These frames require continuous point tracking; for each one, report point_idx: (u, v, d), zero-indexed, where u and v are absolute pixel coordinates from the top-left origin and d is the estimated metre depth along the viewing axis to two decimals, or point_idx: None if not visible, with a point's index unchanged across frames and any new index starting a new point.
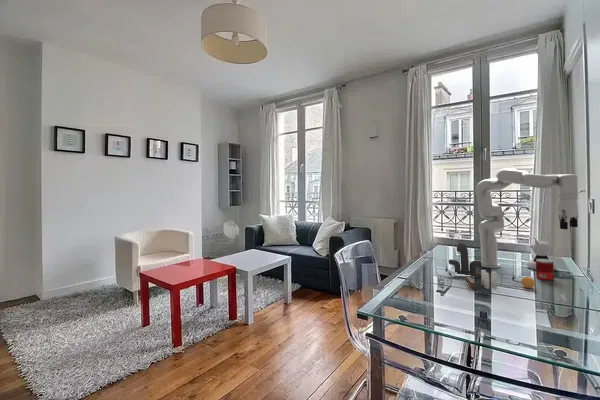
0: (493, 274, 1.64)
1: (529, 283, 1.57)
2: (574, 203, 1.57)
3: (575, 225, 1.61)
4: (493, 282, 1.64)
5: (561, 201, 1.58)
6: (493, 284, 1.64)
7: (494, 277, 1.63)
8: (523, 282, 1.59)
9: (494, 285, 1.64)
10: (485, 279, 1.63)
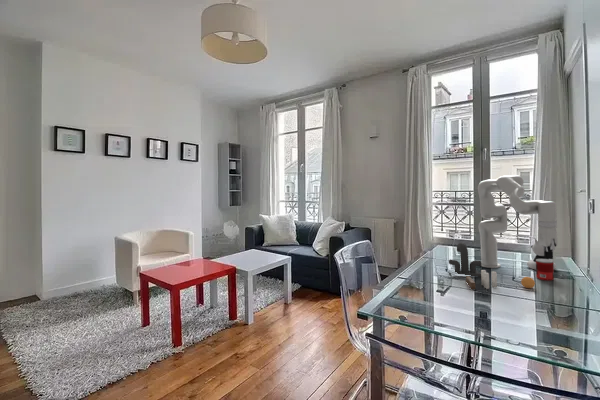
0: (493, 274, 1.64)
1: (529, 283, 1.57)
2: None
3: None
4: (493, 282, 1.64)
5: (550, 230, 1.52)
6: (493, 284, 1.64)
7: (494, 277, 1.63)
8: (523, 282, 1.59)
9: (494, 285, 1.64)
10: (485, 279, 1.63)
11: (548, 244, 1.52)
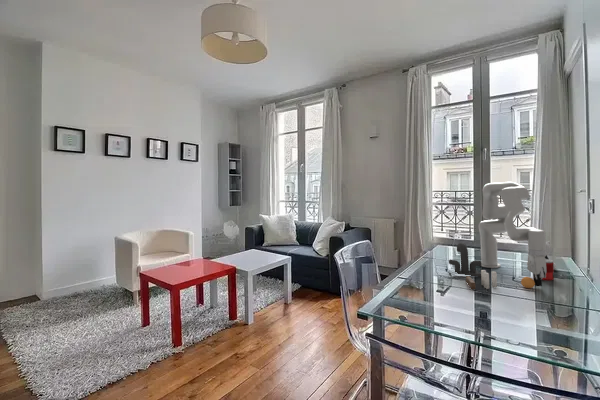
0: (493, 274, 1.64)
1: (529, 283, 1.57)
2: None
3: None
4: (493, 282, 1.64)
5: (539, 258, 1.54)
6: (493, 284, 1.64)
7: (494, 277, 1.63)
8: (523, 282, 1.59)
9: (494, 285, 1.64)
10: (485, 279, 1.63)
11: (537, 272, 1.54)
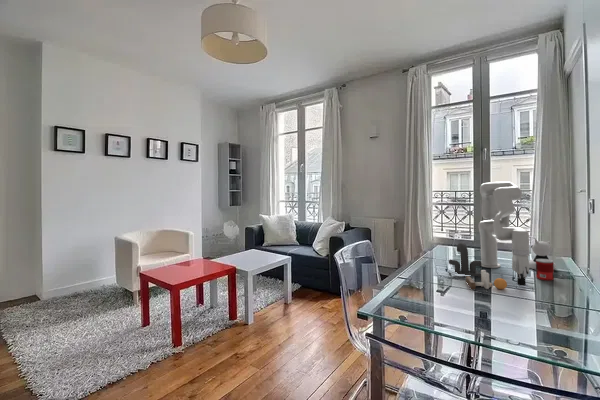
0: None
1: (504, 287, 1.58)
2: None
3: None
4: None
5: (522, 258, 1.56)
6: None
7: (480, 285, 1.66)
8: (504, 281, 1.59)
9: (490, 286, 1.64)
10: (485, 279, 1.63)
11: (520, 272, 1.56)
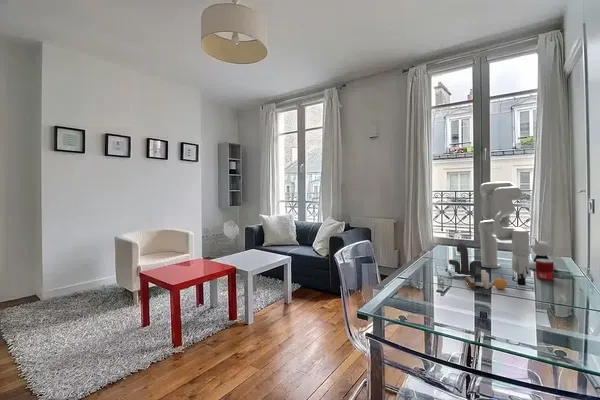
0: None
1: (504, 287, 1.58)
2: None
3: None
4: None
5: (522, 258, 1.56)
6: (489, 286, 1.65)
7: (480, 286, 1.66)
8: (504, 281, 1.59)
9: (490, 286, 1.64)
10: (485, 279, 1.63)
11: (520, 272, 1.56)
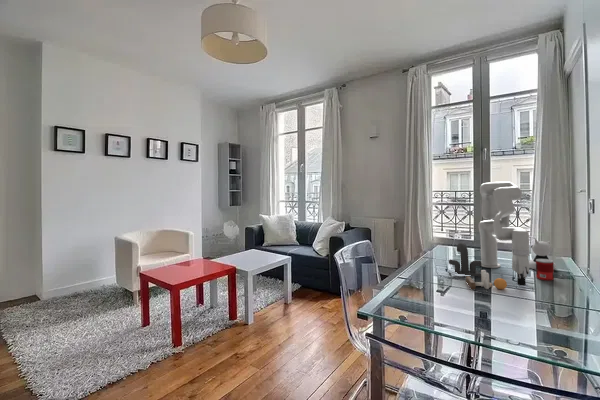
0: None
1: (504, 287, 1.58)
2: None
3: None
4: None
5: (522, 258, 1.56)
6: None
7: (480, 285, 1.66)
8: (504, 281, 1.59)
9: (490, 286, 1.64)
10: (485, 279, 1.63)
11: (520, 272, 1.56)
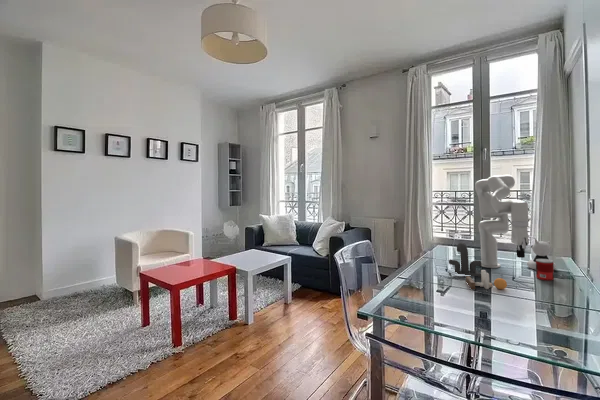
0: None
1: (504, 287, 1.58)
2: None
3: None
4: None
5: (521, 229, 1.55)
6: (489, 286, 1.65)
7: (480, 286, 1.66)
8: (504, 281, 1.59)
9: (490, 286, 1.64)
10: (485, 279, 1.63)
11: (519, 243, 1.55)
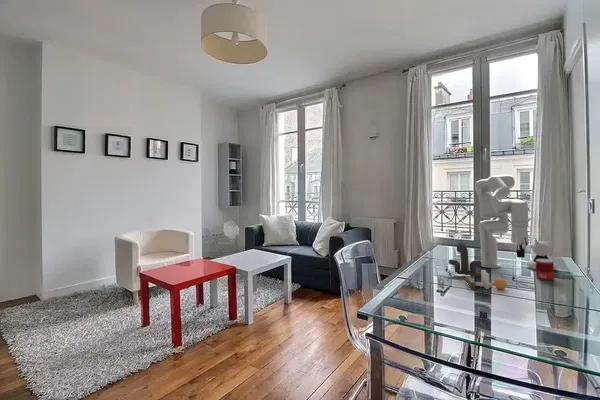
0: None
1: (504, 287, 1.58)
2: None
3: None
4: None
5: (521, 229, 1.55)
6: None
7: (480, 286, 1.66)
8: (504, 281, 1.59)
9: (490, 286, 1.64)
10: (485, 279, 1.63)
11: (519, 243, 1.55)
